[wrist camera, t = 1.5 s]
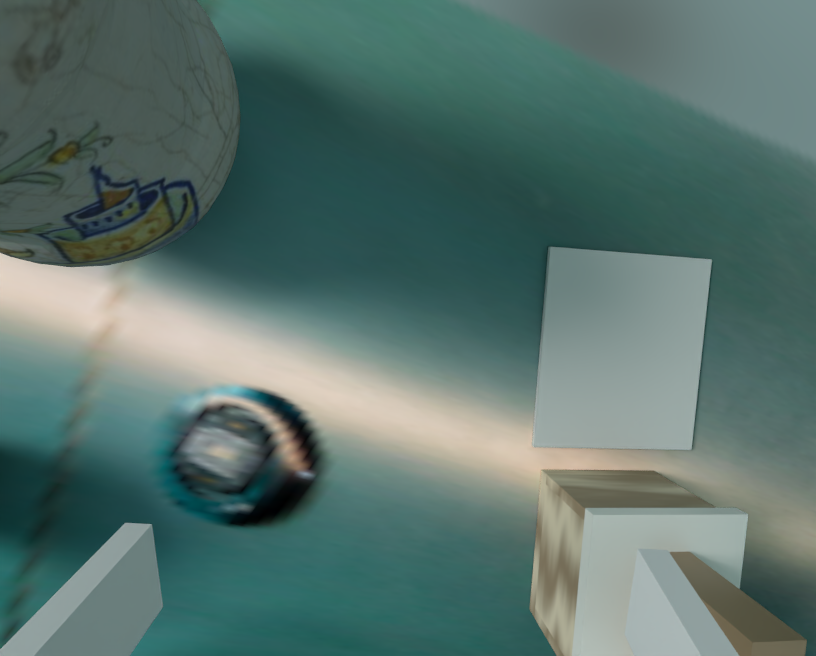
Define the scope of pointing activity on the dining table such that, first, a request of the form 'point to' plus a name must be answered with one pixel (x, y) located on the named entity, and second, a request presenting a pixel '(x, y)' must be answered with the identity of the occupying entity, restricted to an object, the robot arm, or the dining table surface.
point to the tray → (620, 350)
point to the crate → (564, 533)
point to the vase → (110, 127)
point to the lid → (696, 557)
